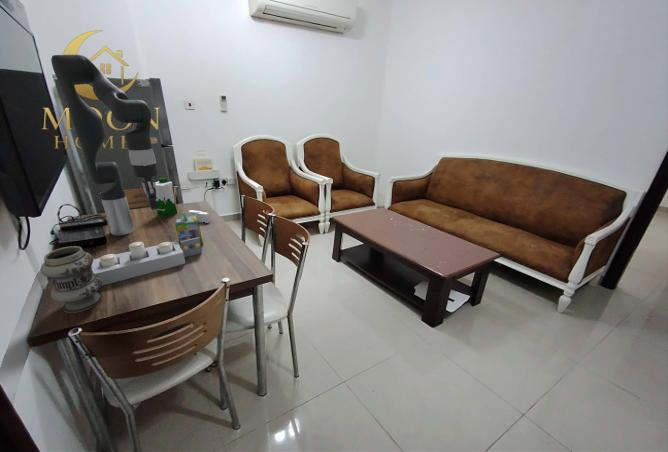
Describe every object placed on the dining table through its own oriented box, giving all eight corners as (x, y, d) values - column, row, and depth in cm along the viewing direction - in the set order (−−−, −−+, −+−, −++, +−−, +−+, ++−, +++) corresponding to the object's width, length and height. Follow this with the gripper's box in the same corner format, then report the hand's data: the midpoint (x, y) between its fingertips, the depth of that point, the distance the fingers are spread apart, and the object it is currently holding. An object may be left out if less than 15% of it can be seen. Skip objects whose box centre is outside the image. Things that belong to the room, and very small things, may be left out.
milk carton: (180, 212, 165) (173, 177, 157) (169, 218, 157) (161, 181, 149) (166, 211, 166) (158, 176, 158) (154, 216, 158) (146, 180, 150)
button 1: (103, 268, 105) (99, 256, 103) (119, 264, 108) (115, 252, 106) (103, 274, 102) (99, 261, 100) (119, 270, 104) (115, 258, 102)
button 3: (160, 254, 115) (157, 243, 113) (172, 251, 118) (170, 240, 116) (161, 259, 112) (159, 248, 110) (175, 256, 114) (172, 245, 112)
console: (96, 271, 107) (92, 259, 105) (179, 251, 123) (177, 240, 121) (95, 287, 99) (91, 274, 97) (185, 263, 114) (183, 252, 112)
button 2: (131, 255, 109) (128, 243, 107) (145, 252, 112) (142, 240, 110) (132, 260, 106) (128, 248, 104) (147, 257, 108) (143, 245, 106)
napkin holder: (184, 220, 156) (182, 210, 154) (206, 215, 163) (204, 206, 160) (192, 229, 145) (190, 218, 143) (215, 223, 152) (214, 213, 150)
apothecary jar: (72, 293, 95) (52, 244, 88) (113, 289, 98) (98, 241, 91) (48, 318, 84) (23, 264, 77) (96, 312, 87) (76, 260, 80)
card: (183, 256, 119) (180, 241, 116) (201, 252, 123) (198, 237, 120) (184, 257, 118) (180, 242, 115) (202, 253, 122) (199, 238, 119)
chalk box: (203, 245, 129) (197, 214, 123) (180, 249, 125) (173, 217, 119) (201, 237, 136) (196, 207, 130) (180, 240, 132) (173, 210, 127)
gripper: (129, 159, 104) (140, 205, 111) (132, 166, 94) (144, 216, 101) (153, 157, 108) (162, 202, 115) (158, 164, 98) (168, 212, 105)
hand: (154, 208), depth 108 cm, fingers closed
